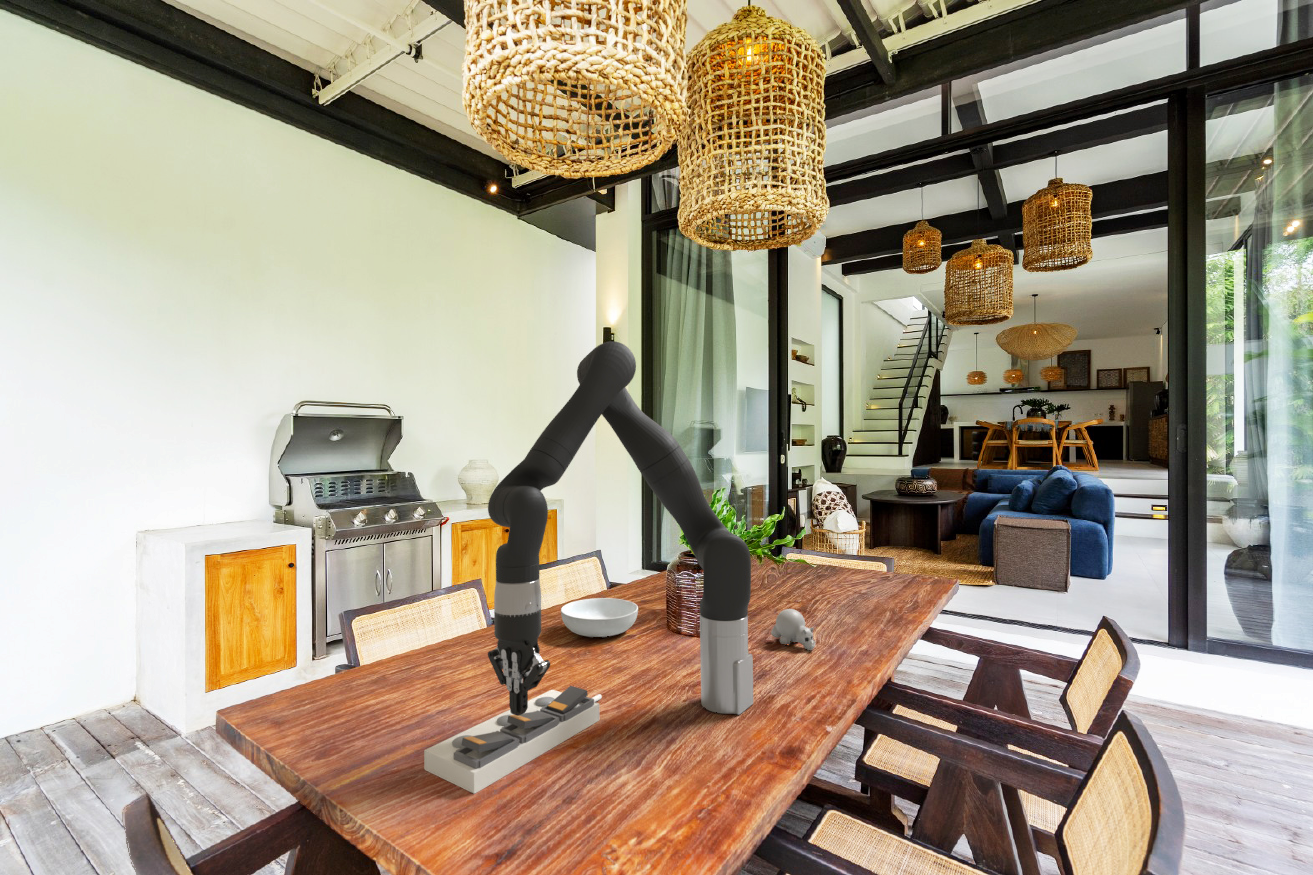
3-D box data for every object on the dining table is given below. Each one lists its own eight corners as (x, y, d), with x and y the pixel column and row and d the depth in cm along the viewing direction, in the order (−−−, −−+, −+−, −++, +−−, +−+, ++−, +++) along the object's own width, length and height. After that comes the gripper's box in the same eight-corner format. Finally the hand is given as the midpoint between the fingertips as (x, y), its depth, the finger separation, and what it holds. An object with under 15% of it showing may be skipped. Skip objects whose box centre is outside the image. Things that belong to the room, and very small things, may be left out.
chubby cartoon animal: (798, 664, 144) (807, 634, 141) (765, 633, 153) (773, 605, 151) (819, 657, 148) (828, 628, 145) (785, 628, 157) (794, 600, 155)
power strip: (578, 691, 123) (578, 672, 123) (624, 705, 116) (624, 684, 116) (424, 769, 94) (424, 743, 94) (474, 793, 87) (474, 765, 87)
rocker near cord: (571, 690, 111) (570, 684, 111) (587, 695, 109) (586, 689, 109) (547, 711, 106) (546, 705, 106) (564, 716, 104) (563, 710, 104)
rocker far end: (493, 738, 96) (495, 731, 97) (510, 745, 94) (512, 737, 94) (461, 744, 91) (462, 737, 92) (478, 752, 89) (480, 744, 89)
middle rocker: (535, 717, 104) (536, 710, 104) (551, 723, 101) (552, 716, 102) (507, 722, 99) (508, 714, 99) (524, 728, 96) (525, 720, 97)
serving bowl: (566, 649, 150) (565, 621, 150) (557, 625, 170) (556, 601, 170) (646, 640, 155) (646, 614, 155) (628, 618, 175) (628, 595, 175)
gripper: (563, 607, 98) (564, 714, 98) (508, 596, 106) (508, 695, 105) (529, 618, 92) (529, 732, 91) (473, 606, 99) (473, 711, 99)
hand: (518, 712), depth 98 cm, fingers closed
